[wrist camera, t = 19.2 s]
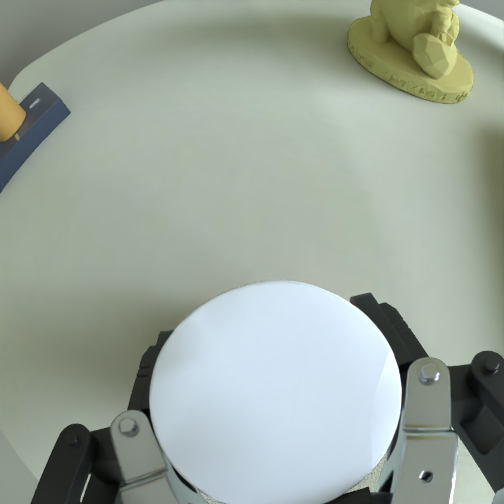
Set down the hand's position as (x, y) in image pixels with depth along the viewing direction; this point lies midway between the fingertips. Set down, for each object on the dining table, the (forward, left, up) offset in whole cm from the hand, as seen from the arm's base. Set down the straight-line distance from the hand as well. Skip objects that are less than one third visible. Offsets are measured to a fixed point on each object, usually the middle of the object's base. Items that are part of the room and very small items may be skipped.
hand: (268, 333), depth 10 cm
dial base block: (-4, +34, -5) cm, 34 cm away
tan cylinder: (-4, +34, -3) cm, 34 cm away
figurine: (+30, +6, -6) cm, 31 cm away
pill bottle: (-1, -1, -6) cm, 6 cm away
